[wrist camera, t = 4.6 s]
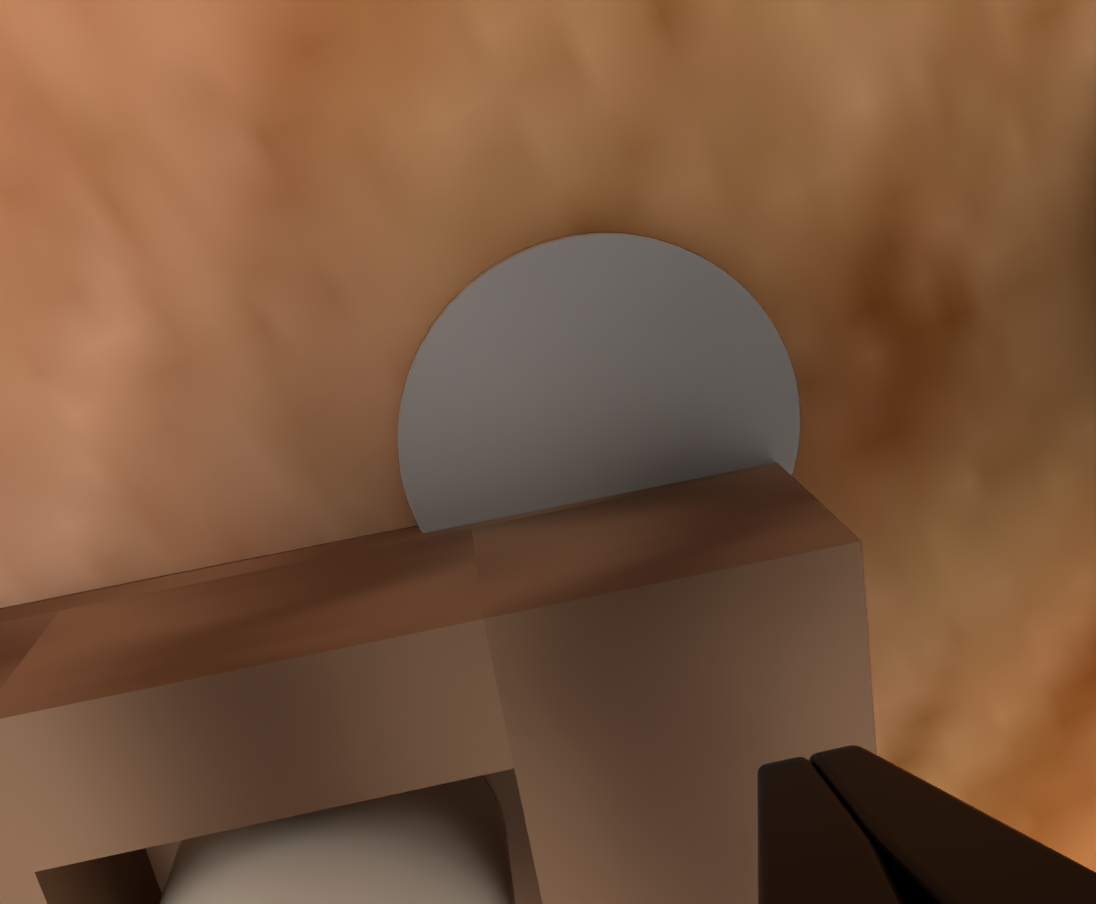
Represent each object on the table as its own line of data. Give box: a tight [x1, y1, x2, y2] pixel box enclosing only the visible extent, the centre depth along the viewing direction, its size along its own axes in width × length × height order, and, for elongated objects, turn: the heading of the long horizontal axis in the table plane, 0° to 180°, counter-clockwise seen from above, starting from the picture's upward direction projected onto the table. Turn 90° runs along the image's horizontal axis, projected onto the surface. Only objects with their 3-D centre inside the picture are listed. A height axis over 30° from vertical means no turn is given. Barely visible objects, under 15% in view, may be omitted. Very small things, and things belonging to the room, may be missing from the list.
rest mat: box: [398, 232, 800, 533], centre depth 17 cm, size 7×7×1 cm
